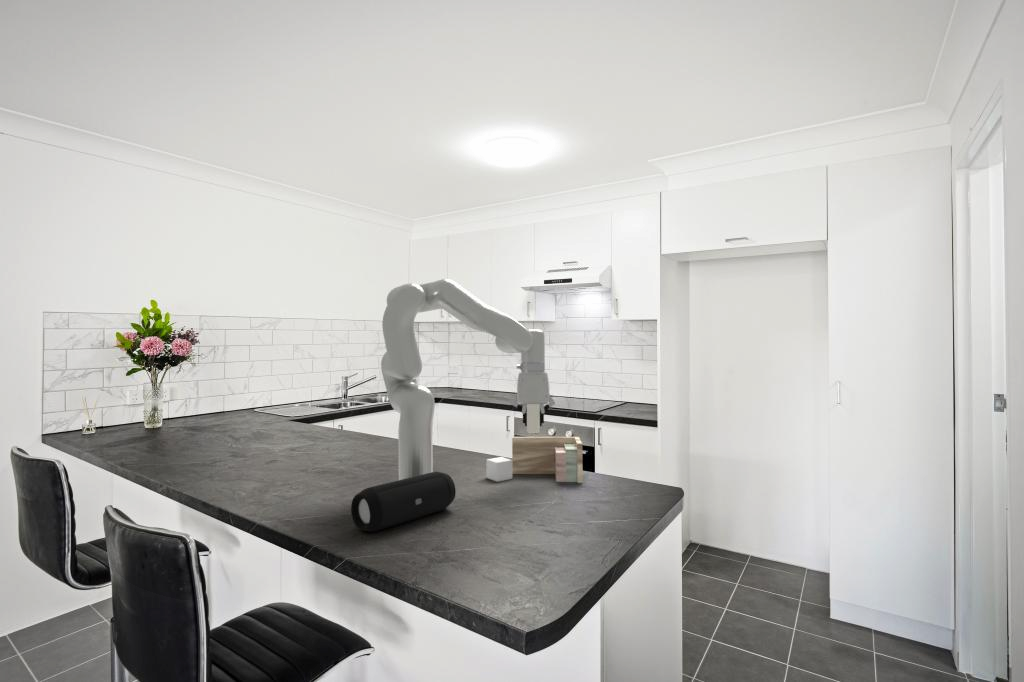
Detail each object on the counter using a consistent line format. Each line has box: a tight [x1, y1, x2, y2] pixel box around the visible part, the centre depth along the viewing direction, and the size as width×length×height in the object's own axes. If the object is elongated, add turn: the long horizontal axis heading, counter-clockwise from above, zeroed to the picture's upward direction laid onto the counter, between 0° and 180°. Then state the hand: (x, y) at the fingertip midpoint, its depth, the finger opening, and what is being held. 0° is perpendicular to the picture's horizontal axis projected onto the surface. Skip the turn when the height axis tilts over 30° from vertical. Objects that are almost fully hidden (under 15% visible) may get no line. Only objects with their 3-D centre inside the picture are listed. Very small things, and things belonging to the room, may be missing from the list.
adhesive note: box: [485, 456, 513, 483], centre depth 170 cm, size 6×6×6 cm
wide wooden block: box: [511, 436, 584, 484], centre depth 170 cm, size 12×22×12 cm, turn 88°
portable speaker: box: [350, 471, 457, 533], centre depth 130 cm, size 26×10×10 cm, turn 138°
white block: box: [526, 404, 541, 434], centre depth 169 cm, size 9×4×9 cm, turn 178°
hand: (533, 425), depth 169 cm, fingers closed on white block, 4 cm apart
